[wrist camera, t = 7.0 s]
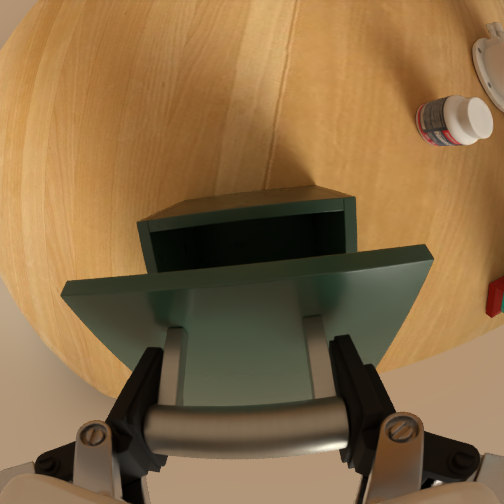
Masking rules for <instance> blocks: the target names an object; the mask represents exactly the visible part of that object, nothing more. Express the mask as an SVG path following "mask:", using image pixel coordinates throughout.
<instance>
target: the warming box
mask: <svg viewBox="0 0 504 504" xmlns="http://www.w3.org/2000/svg"><path fill="white" fill-rule="evenodd" d="M137 227H138V232H139V237H140V242H141V247H142V251H143V256H144V260H145V265H146V269H147V273H148V274H152V273H163V272H173V271H184V270H194V269H204V268H214V267H224V266H234V265H244V264H254V263H263V262H273V261H282V260H291V259H300V258H310V257H319V256H327V255H336V254H345V253H354V252H357V219H356V198H355V197H354V196H351V195H347V194H344V193H341V192H338V191H334V190H331V189H327V188H324V187H320V186H317V185H314V186H302V187H291V188H280V189H271V190H261V191H252V192H244V193H235V194H228V195H220V196H213V197H205V198H199V199H192V200H185V201H182V202H180V203H178V204H175V205H173V206H171V207H169V208H166V209H164V210H162V211H160V212H158V213H155V214H153V215H151V216H149V217H147V218H145V219H143V220H140V221H138V222H137Z"/></svg>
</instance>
